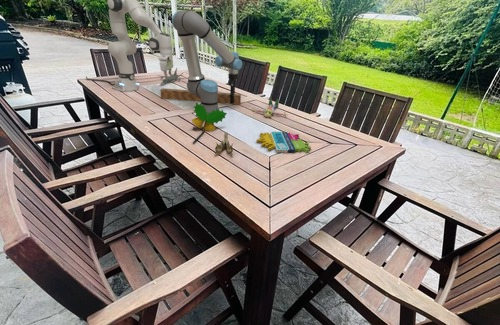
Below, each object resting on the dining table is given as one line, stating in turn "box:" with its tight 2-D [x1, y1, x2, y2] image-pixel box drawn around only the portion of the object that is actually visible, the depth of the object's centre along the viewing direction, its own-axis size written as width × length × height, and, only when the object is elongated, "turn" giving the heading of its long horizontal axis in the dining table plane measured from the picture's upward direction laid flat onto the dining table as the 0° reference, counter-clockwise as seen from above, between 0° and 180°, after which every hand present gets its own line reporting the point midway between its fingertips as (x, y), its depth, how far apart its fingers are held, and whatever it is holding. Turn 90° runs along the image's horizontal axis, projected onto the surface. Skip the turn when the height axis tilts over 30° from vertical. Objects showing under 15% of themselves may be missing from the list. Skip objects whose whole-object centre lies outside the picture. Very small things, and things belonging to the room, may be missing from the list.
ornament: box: [191, 101, 228, 132], centre depth 162 cm, size 21×8×15 cm, turn 105°
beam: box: [159, 87, 242, 106], centre depth 214 cm, size 65×5×7 cm, turn 87°
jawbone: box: [214, 131, 234, 156], centre depth 136 cm, size 9×15×10 cm
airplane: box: [156, 67, 188, 87], centre depth 264 cm, size 38×31×10 cm
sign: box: [256, 131, 312, 154], centre depth 152 cm, size 26×2×30 cm
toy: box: [250, 97, 288, 118], centre depth 199 cm, size 28×7×30 cm
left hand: (168, 75), depth 207 cm, fingers open, 8 cm apart
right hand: (232, 102), depth 215 cm, fingers open, 6 cm apart
